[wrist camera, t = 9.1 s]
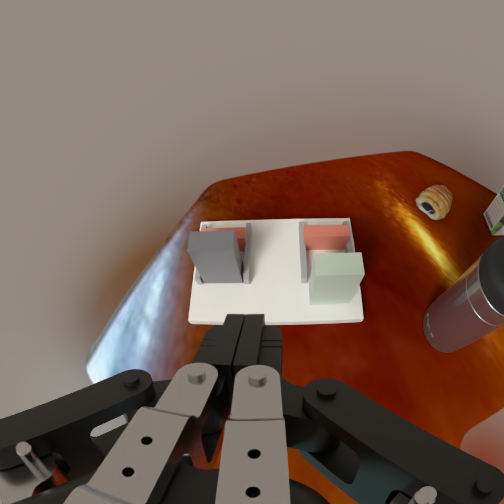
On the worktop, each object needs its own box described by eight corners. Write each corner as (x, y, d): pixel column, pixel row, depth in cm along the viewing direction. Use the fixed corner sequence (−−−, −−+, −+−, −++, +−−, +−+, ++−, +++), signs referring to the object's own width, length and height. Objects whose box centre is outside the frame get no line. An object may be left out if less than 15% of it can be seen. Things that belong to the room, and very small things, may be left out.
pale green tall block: (347, 285, 45) (361, 252, 36) (349, 303, 44) (364, 274, 35) (308, 286, 46) (314, 253, 37) (309, 304, 44) (315, 275, 36)
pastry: (433, 184, 56) (439, 172, 52) (456, 204, 53) (463, 193, 49) (411, 204, 54) (417, 192, 50) (436, 227, 51) (444, 215, 47)
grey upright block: (243, 265, 49) (234, 230, 40) (242, 283, 47) (233, 250, 38) (206, 266, 49) (190, 231, 40) (204, 283, 48) (187, 251, 39)
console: (348, 223, 52) (353, 203, 48) (361, 321, 44) (370, 309, 39) (202, 226, 55) (195, 208, 50) (191, 323, 46) (180, 312, 41)
